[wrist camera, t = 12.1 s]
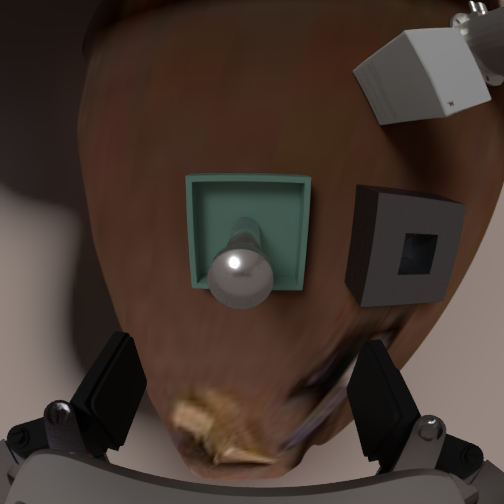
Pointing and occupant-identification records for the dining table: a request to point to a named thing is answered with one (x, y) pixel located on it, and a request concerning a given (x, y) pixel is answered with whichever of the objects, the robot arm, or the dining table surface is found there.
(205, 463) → the dining table surface
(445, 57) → the supplement box
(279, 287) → the tray
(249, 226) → the pin
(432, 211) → the socket block
